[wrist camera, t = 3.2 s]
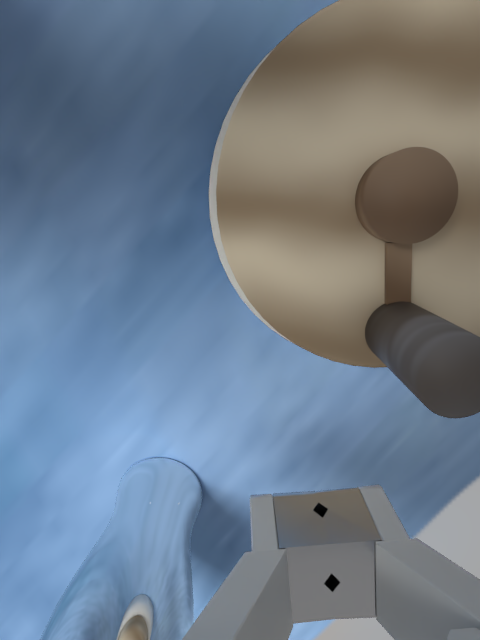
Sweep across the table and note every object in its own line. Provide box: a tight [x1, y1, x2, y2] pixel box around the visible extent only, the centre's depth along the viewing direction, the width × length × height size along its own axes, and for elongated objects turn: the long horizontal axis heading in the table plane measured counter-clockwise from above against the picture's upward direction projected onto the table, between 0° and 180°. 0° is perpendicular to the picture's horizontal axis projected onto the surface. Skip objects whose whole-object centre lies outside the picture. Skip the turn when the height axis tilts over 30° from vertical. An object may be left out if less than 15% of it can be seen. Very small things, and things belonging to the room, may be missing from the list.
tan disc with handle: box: [216, 0, 480, 418], centre depth 16 cm, size 17×17×8 cm
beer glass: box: [40, 458, 202, 640], centre depth 21 cm, size 7×7×15 cm
